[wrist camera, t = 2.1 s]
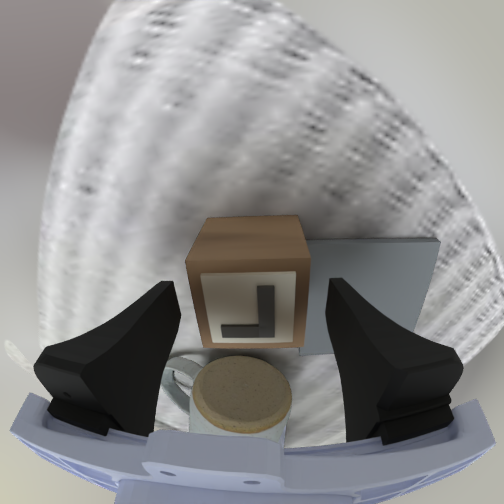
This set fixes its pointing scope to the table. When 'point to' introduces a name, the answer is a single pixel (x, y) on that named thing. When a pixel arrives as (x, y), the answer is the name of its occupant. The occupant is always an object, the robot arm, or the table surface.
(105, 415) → the robot arm
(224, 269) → the letter cube
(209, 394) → the ceramic mug
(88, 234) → the table surface
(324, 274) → the slate mat
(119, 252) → the table surface
